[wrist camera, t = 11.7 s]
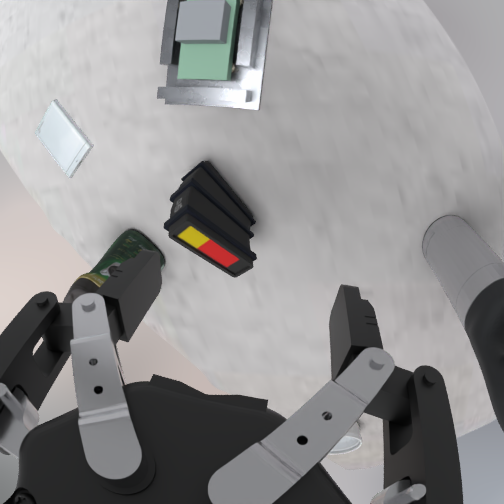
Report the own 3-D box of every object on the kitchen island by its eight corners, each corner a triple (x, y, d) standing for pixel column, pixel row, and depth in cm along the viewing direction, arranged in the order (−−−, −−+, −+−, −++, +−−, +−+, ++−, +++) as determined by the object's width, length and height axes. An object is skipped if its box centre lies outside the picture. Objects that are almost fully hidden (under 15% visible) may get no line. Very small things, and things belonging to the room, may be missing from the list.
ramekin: (350, 435, 72) (351, 455, 66) (307, 433, 73) (306, 453, 67) (368, 414, 66) (370, 436, 60) (320, 411, 67) (320, 434, 61)
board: (195, -17, 25) (181, -30, 21) (243, -19, 25) (234, -33, 20) (183, 79, 32) (167, 78, 28) (230, 81, 32) (219, 78, 27)
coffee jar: (112, 247, 51) (51, 310, 35) (132, 220, 48) (66, 283, 32) (149, 283, 54) (101, 354, 38) (173, 260, 50) (122, 335, 34)
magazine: (191, 142, 38) (187, 216, 29) (251, 195, 47) (267, 272, 37) (172, 159, 40) (162, 236, 30) (233, 208, 48) (243, 285, 39)
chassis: (182, -26, 27) (167, -39, 22) (275, -28, 26) (272, -44, 21) (167, 103, 37) (149, 106, 33) (259, 109, 36) (252, 111, 32)
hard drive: (33, 133, 41) (68, 179, 44) (52, 99, 37) (89, 146, 41) (39, 131, 42) (73, 176, 46) (58, 98, 39) (95, 144, 42)
